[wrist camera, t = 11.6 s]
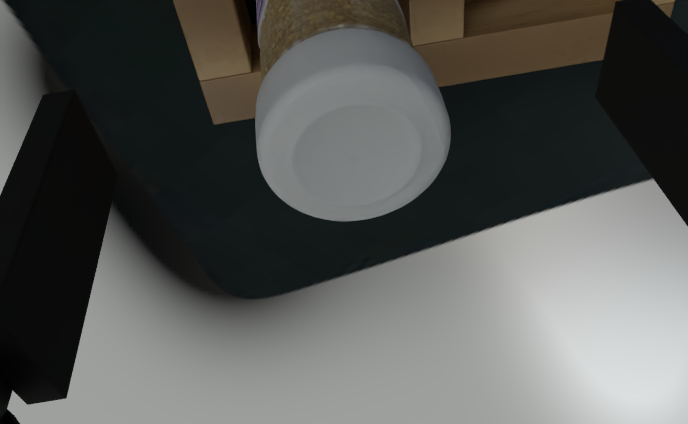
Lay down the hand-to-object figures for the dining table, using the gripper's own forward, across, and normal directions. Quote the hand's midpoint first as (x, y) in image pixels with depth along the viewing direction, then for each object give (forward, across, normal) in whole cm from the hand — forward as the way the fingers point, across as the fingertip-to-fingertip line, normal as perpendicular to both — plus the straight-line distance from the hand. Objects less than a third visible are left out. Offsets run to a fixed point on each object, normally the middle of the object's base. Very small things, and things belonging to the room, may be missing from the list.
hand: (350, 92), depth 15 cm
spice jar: (+11, 0, 0) cm, 11 cm away
